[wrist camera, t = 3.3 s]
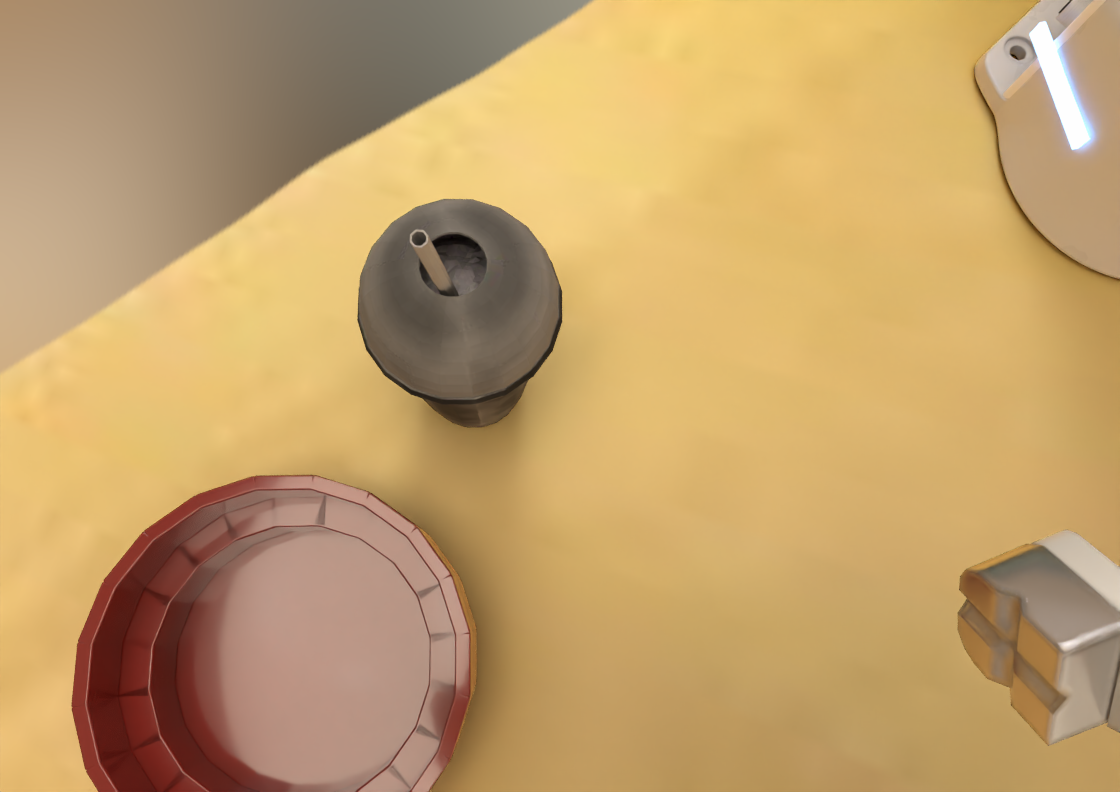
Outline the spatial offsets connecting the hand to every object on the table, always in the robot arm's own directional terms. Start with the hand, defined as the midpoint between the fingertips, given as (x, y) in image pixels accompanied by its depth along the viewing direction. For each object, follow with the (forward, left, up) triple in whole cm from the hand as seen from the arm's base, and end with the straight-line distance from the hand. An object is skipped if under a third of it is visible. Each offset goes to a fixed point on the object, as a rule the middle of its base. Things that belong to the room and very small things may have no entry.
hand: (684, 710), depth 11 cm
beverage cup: (-7, -10, -30) cm, 32 cm away
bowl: (+7, -9, -30) cm, 32 cm away
